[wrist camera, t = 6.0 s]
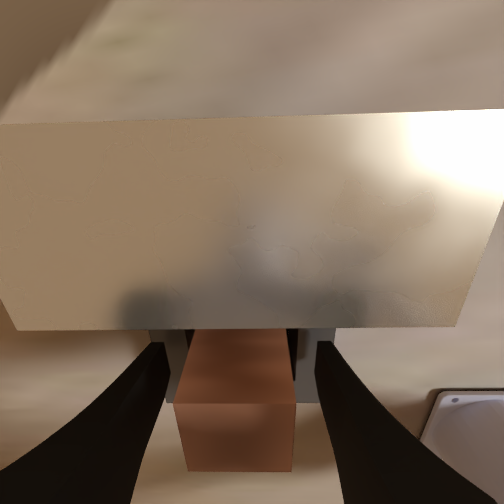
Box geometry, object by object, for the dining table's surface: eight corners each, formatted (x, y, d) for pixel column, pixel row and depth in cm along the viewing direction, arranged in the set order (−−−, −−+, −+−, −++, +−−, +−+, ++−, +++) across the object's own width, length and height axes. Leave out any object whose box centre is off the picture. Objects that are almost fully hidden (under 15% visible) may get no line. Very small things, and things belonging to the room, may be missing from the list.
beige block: (390, 118, 12) (539, 108, 6) (368, 240, 15) (454, 326, 8) (88, 127, 12) (-90, 127, 6) (118, 244, 15) (17, 330, 9)
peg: (277, 276, 16) (296, 403, 8) (276, 328, 17) (291, 472, 10) (211, 277, 16) (172, 403, 9) (216, 329, 17) (188, 471, 10)
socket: (325, 230, 14) (345, 259, 11) (313, 355, 18) (325, 402, 15) (158, 233, 15) (131, 263, 11) (182, 355, 19) (166, 402, 15)
